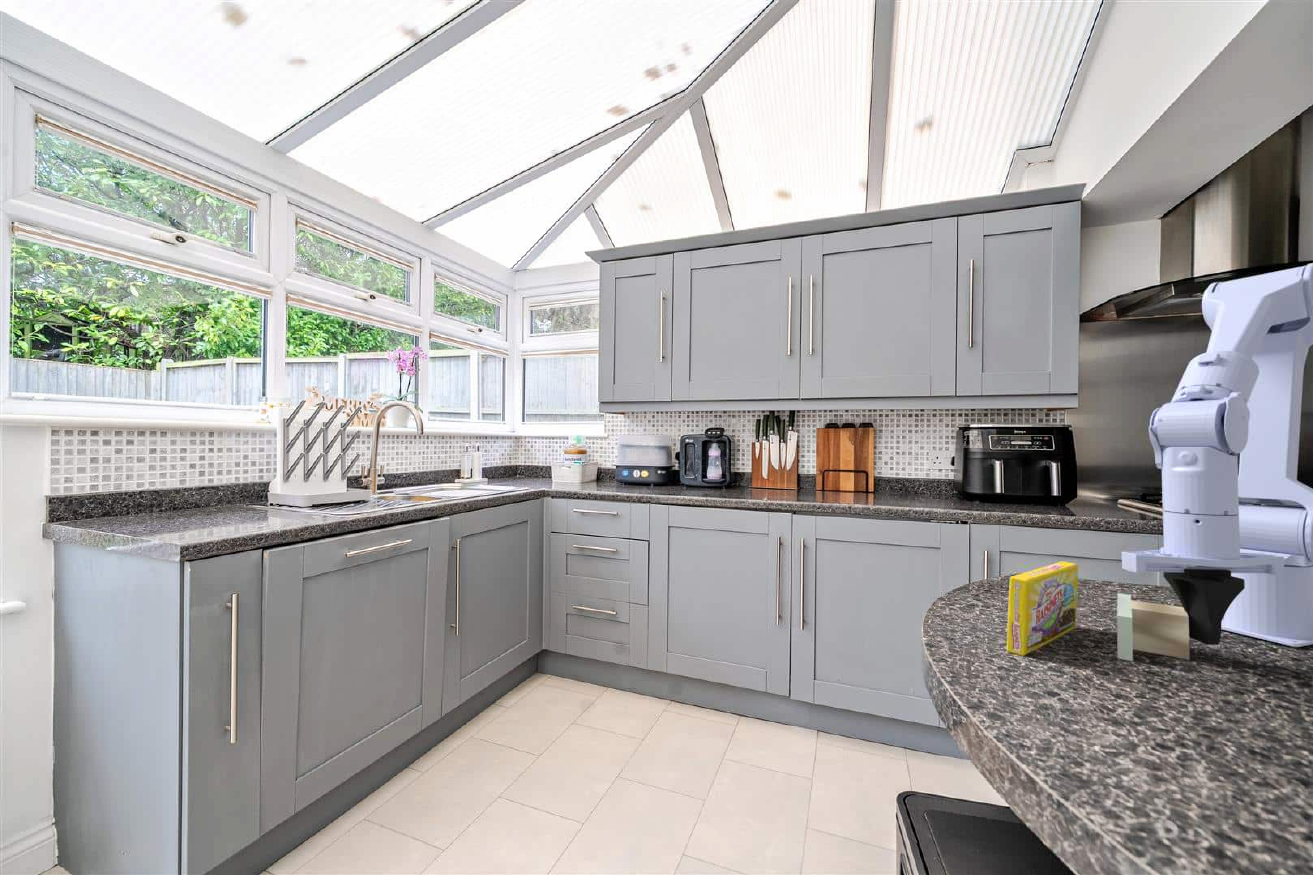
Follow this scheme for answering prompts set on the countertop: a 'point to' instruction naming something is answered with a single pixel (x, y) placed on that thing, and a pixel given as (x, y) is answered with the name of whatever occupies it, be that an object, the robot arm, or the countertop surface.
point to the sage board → (1124, 627)
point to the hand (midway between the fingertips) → (1203, 641)
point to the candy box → (1041, 606)
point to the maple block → (1160, 629)
